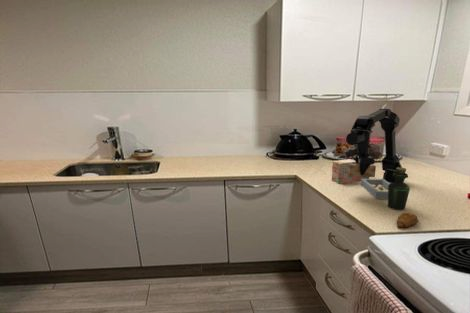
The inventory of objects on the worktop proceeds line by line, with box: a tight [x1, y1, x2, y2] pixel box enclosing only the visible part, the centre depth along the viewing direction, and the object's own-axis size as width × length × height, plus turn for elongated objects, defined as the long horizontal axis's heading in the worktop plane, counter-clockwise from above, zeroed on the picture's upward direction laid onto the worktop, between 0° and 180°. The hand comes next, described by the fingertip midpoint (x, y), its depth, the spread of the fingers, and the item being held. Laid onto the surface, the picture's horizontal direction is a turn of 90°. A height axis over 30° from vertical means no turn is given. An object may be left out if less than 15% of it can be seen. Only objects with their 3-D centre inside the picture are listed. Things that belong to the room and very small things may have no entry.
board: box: [346, 164, 377, 178], centre depth 127 cm, size 12×5×6 cm, turn 85°
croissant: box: [396, 212, 419, 230], centre depth 100 cm, size 14×7×5 cm, turn 125°
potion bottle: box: [387, 167, 411, 211], centre depth 113 cm, size 8×8×18 cm
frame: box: [360, 178, 390, 200], centre depth 134 cm, size 12×21×4 cm, turn 173°
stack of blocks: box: [331, 158, 370, 184], centre depth 152 cm, size 21×6×12 cm, turn 106°
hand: (360, 173), depth 128 cm, fingers closed on board, 5 cm apart
